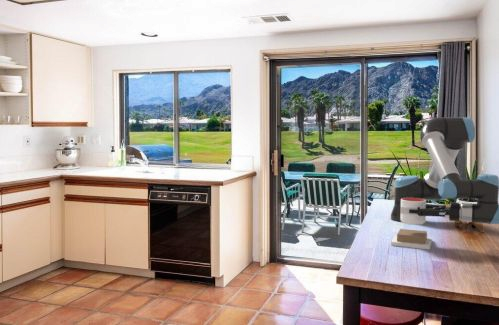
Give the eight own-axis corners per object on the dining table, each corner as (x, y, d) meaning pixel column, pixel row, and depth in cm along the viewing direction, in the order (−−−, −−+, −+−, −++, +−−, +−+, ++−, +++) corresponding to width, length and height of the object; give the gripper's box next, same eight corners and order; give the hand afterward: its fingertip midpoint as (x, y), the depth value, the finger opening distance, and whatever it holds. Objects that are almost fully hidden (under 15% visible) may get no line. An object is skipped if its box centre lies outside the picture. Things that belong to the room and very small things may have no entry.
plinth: (395, 237, 198) (396, 227, 198) (432, 240, 192) (432, 230, 191) (391, 245, 185) (391, 234, 184) (429, 249, 178) (430, 238, 178)
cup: (429, 222, 188) (429, 199, 187) (419, 226, 180) (420, 202, 180) (406, 219, 194) (406, 197, 194) (396, 223, 187) (396, 199, 186)
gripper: (459, 226, 169) (398, 221, 179) (459, 216, 190) (405, 212, 199) (460, 207, 169) (399, 203, 178) (460, 199, 189) (405, 195, 199)
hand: (402, 208), depth 189 cm, fingers closed on cup, 10 cm apart
